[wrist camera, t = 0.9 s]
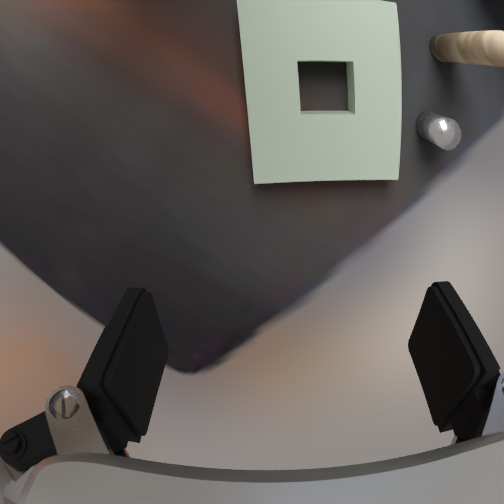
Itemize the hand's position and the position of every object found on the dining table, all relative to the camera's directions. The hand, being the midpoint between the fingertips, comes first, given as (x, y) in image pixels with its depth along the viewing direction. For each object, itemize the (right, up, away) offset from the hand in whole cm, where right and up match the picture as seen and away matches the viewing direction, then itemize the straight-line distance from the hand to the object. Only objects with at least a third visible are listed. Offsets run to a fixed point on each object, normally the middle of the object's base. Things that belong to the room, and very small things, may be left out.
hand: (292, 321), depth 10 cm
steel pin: (+19, +17, +21) cm, 33 cm away
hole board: (+6, +20, +20) cm, 29 cm away
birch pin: (+21, +26, +16) cm, 36 cm away
